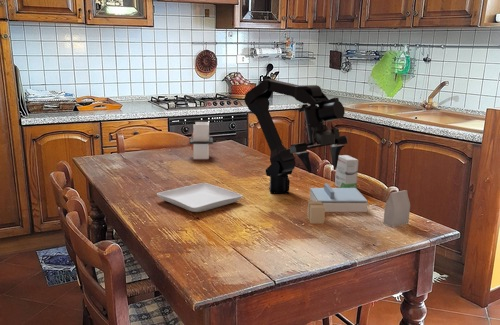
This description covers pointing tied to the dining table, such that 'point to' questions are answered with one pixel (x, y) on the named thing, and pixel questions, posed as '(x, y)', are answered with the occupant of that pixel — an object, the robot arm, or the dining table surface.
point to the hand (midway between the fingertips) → (323, 170)
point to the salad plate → (199, 197)
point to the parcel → (316, 212)
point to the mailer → (342, 206)
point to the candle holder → (201, 140)
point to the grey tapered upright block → (397, 209)
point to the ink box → (346, 172)
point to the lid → (337, 194)
